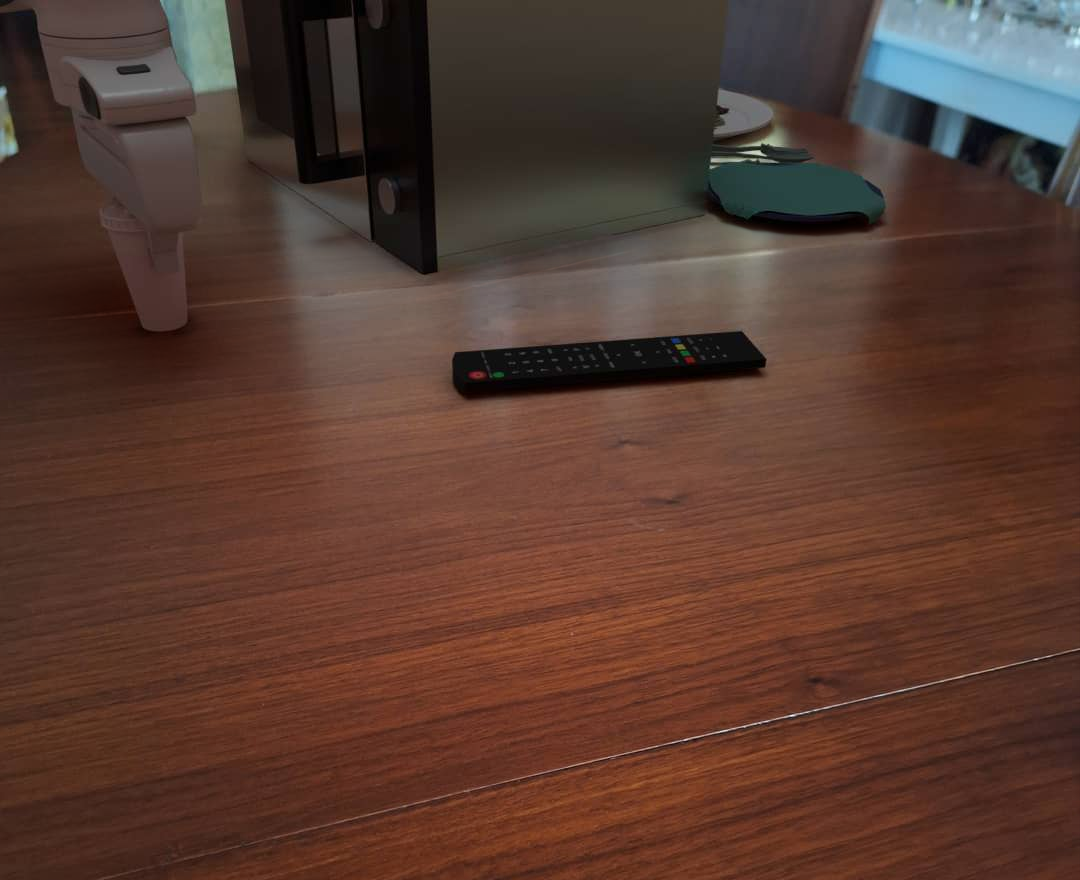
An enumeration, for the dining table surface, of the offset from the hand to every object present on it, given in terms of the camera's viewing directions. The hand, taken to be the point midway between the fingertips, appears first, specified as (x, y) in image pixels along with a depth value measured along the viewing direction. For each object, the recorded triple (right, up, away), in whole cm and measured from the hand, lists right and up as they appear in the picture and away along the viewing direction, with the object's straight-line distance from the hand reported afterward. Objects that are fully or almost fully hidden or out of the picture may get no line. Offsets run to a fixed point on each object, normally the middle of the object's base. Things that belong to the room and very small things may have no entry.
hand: (151, 256), depth 84 cm
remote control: (+36, -10, -3) cm, 38 cm away
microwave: (+22, +18, +35) cm, 45 cm away
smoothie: (0, -5, +3) cm, 6 cm away
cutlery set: (+59, +17, +36) cm, 71 cm away
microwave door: (+3, +14, +30) cm, 33 cm away
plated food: (+49, +36, +62) cm, 86 cm away
